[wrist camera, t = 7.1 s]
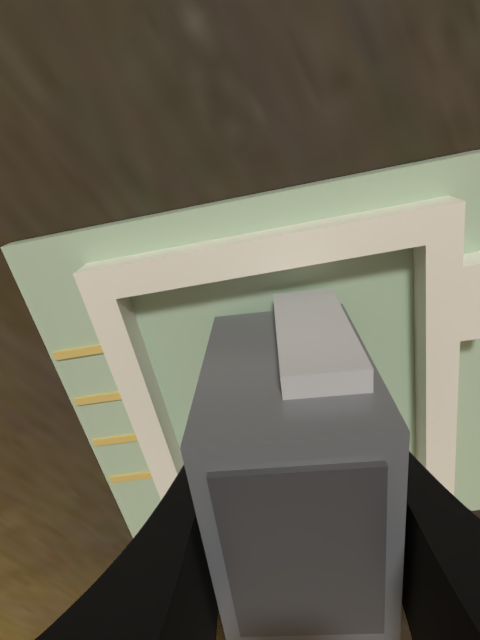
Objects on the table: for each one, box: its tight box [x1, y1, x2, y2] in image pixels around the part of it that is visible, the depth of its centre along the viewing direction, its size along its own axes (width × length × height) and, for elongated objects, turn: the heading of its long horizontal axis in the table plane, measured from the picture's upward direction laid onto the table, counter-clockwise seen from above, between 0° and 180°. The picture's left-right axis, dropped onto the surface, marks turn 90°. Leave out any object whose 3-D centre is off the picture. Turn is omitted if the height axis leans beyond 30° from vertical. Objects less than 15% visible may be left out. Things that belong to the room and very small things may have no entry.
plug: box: [180, 288, 410, 640], centre depth 11 cm, size 4×6×6 cm, turn 7°
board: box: [1, 149, 480, 538], centre depth 14 cm, size 16×14×2 cm
